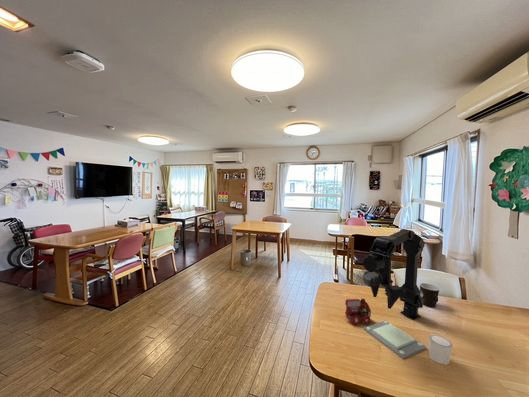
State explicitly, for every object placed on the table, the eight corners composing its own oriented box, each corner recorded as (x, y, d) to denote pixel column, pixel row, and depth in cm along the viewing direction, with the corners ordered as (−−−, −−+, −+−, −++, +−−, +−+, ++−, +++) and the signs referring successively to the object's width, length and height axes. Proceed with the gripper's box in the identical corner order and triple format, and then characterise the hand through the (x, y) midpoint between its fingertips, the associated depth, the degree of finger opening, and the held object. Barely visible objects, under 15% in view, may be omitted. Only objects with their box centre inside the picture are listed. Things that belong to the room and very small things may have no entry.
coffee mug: (418, 298, 125) (419, 281, 125) (437, 303, 120) (438, 286, 120) (418, 307, 116) (419, 289, 115) (439, 313, 111) (440, 294, 110)
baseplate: (385, 322, 103) (385, 318, 103) (426, 348, 87) (426, 344, 86) (363, 329, 97) (363, 325, 97) (403, 359, 81) (403, 354, 81)
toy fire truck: (374, 324, 101) (375, 302, 101) (348, 325, 100) (349, 303, 99) (365, 315, 108) (366, 295, 108) (341, 316, 107) (342, 296, 106)
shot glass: (423, 351, 85) (424, 334, 84) (439, 351, 85) (440, 333, 85) (438, 366, 78) (440, 347, 77) (456, 365, 78) (457, 346, 78)
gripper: (353, 260, 101) (352, 292, 102) (381, 277, 83) (379, 317, 84) (375, 259, 103) (374, 291, 104) (407, 275, 84) (405, 314, 85)
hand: (381, 302), depth 94 cm, fingers open, 9 cm apart
